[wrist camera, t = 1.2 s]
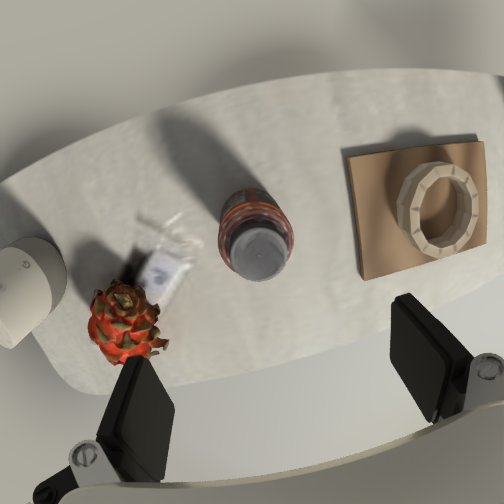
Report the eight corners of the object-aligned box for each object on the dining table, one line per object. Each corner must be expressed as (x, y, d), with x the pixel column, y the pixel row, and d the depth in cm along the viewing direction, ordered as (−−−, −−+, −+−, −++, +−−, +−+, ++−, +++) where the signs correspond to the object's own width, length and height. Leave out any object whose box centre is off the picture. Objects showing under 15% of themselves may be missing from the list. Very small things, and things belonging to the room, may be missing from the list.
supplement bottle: (212, 231, 32) (201, 276, 21) (235, 178, 30) (234, 197, 19) (264, 252, 33) (278, 305, 22) (289, 201, 31) (316, 233, 20)
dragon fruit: (133, 255, 34) (154, 331, 40) (67, 280, 29) (100, 356, 35) (162, 287, 28) (184, 369, 34) (81, 322, 23) (122, 400, 29)
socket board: (478, 141, 29) (499, 143, 25) (481, 241, 34) (499, 250, 30) (346, 157, 30) (360, 160, 26) (361, 277, 34) (374, 293, 31)
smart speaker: (11, 266, 32) (-53, 315, 19) (34, 215, 30) (-43, 256, 17) (57, 311, 34) (4, 377, 21) (86, 266, 32) (23, 331, 19)
